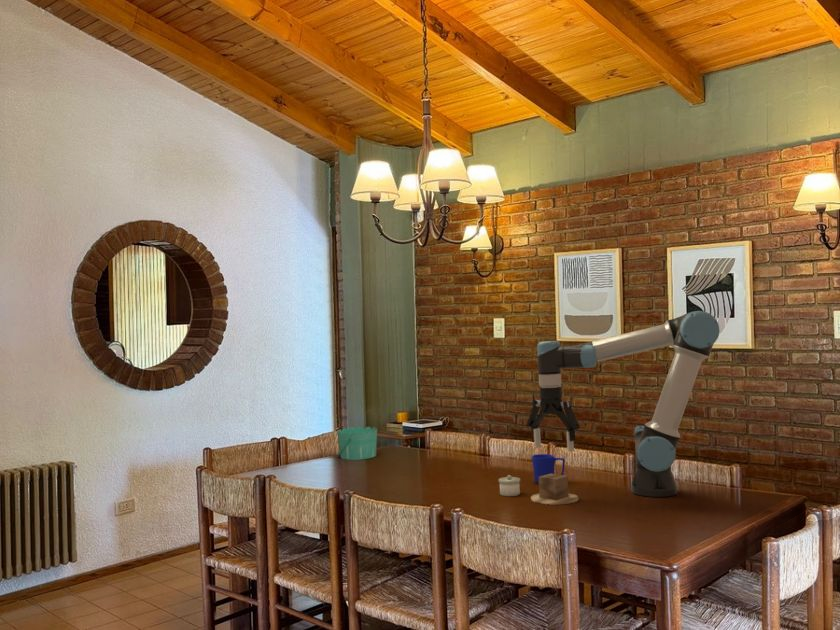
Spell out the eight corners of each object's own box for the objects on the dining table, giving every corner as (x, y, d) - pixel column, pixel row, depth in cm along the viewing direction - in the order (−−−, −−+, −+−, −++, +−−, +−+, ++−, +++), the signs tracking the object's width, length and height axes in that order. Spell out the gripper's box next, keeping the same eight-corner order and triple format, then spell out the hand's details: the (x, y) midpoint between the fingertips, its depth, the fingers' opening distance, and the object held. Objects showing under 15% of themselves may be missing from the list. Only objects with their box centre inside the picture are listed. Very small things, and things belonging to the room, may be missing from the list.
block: (568, 496, 253) (567, 475, 253) (556, 500, 248) (555, 479, 248) (551, 493, 258) (551, 473, 258) (539, 497, 253) (538, 476, 253)
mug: (565, 485, 274) (564, 458, 274) (532, 485, 276) (531, 457, 276) (565, 480, 282) (564, 454, 282) (533, 480, 284) (532, 454, 284)
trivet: (588, 498, 253) (588, 496, 253) (560, 507, 242) (560, 505, 242) (549, 491, 264) (549, 489, 264) (521, 500, 253) (521, 498, 253)
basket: (361, 461, 337) (360, 433, 337) (329, 458, 347) (329, 431, 347) (385, 454, 353) (384, 427, 353) (355, 452, 363) (354, 425, 363)
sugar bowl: (525, 493, 263) (524, 474, 263) (512, 497, 258) (511, 478, 258) (507, 490, 268) (506, 472, 269) (494, 494, 263) (494, 476, 263)
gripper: (587, 386, 247) (591, 450, 247) (528, 384, 265) (531, 444, 265) (574, 388, 242) (578, 453, 241) (514, 386, 260) (518, 447, 259)
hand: (553, 449), depth 253 cm, fingers open, 13 cm apart
